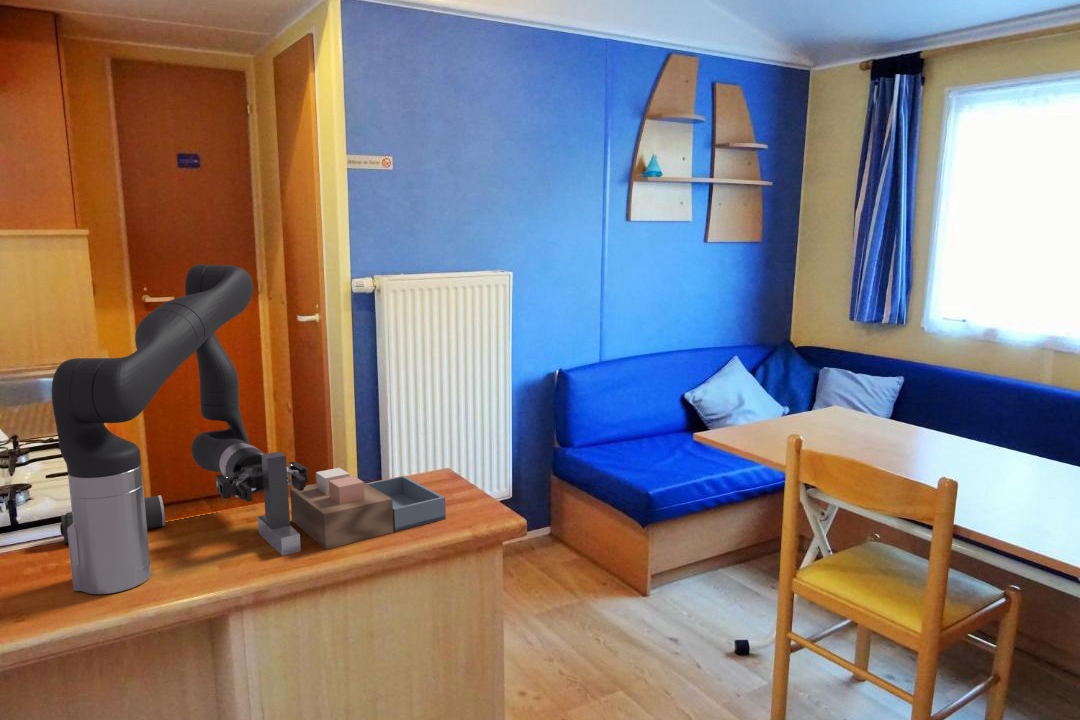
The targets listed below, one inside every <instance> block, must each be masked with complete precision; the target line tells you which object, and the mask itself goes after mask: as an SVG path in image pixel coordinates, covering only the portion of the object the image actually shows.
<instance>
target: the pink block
mask: <svg viewBox="0 0 1080 720" xmlns="http://www.w3.org/2000/svg"><path fill="white" fill-rule="evenodd" d="M359 479H360V478H358V477H356V476H355V477H354V475H350V477H345V478H340V479H335V480H330V481H329V492H330V498H331V499H333V500H334V501H336V502H337V503H339V504H344V503H349V502H353V501H358V500H362V499H365V497H364V482H365V481H363V480H361V479H360V480H359Z"/></svg>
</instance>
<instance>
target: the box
mask: <svg viewBox="0 0 1080 720" xmlns="http://www.w3.org/2000/svg"><path fill="white" fill-rule="evenodd" d="M367 484H368V485H370V486H372V487H373V488H375V489H377V490H378V491H380V492H382V493H383V494H385V495H387V496H389V497H390V498H392V503H393V531H394V532H399V531H403V530H404V531H405V530H407V529H412V528H415V527H419V526H422V525H427V524H430V523H434V522H438V521H439V522H440V521H442V520H445V519H447V517H446V516H447V515H446V497H445V496H443V495H441V494H439V493H438V492H436V491H433V490H431V488H428V487H426V486H424V485H422V484H421V483H418V482H417V481H415V480H413V479H411V478H409V477H407V476H405V475H401V476H395V477H391V478H386V479H381V480H377V481H373V482H372V481H371V482H367Z"/></svg>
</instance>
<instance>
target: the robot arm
mask: <svg viewBox="0 0 1080 720" xmlns="http://www.w3.org/2000/svg"><path fill="white" fill-rule="evenodd" d="M253 291H254V284H253V279H252V276H251V274H249V272H248V271H247V270H246V269H244V268H243V267H239V266H236V265H231V264H230V265H227V264H224V265H223V264H194V265H192V267H191V268H189V270H188V271H187V274H186V276H185V283H184V295H183V296H180V297H178V298H177V297H176V298H174V299H171V300H168V301H166V302H164V303H162V304H160V305H159V306H157V307H156V308H154V309H153V310H152V311H151V312H150V313H148V314H147V315H146V316H145V317H144V318H143V319H141V321H140V322H139V323H138V325H137V326H136V330H135V335H134V341H135V347H136V350H135V351H134V352H133V353H131V354H129V355H127V356H123V357H113V358H112V357H107V358H106V357H104V358H103V357H93V358H91V357H89V358H88V357H81V358H80V357H79V358H78V357H77V358H70V359H67V360H65V361H63V362H62V363H61V364H59V365H58V367H57V368H56V370H55V372H54V374H53V379H52V383H51V404H52V410H53V415H54V416H53V417H54V421H55V427H56V432H57V433H56V434H57V438H58V439H57V440H58V444H59V445H58V446H59V450H60V455H61V457H62V458H63V461H64V462H65V465H66V469H67V476H68V477H67V478H68V479H67V480H68V489H69V495H70V496H69V497H70V505H71V512H72V516H73V524H72V525H70V526H69V527H68V529H67V534H68V550H69V552H68V553H69V561H70V569H71V580H72V588H73V591H74V592H84V593H85V594H90V595H106V594H114V593H119V592H122V591H127V590H130V589H133V588H135V587H137V586H139V585H141V584H143V583H145V582H146V581H148V580H149V578H151V575H152V567H151V558H150V547H149V535H148V529H147V522H146V511H145V500H144V498H145V492H144V491H145V489H144V483H143V470H142V461H141V460H142V457H141V451H140V448H139V446H138V445H137V444H136V443H134V442H132V441H130V440H128V439H124V438H122V437H119V436H117V434H115V433H113V432H112V431H111V430H109V429H108V428H107V427H106V426H105V424H120V423H126V422H130V421H131V420H133V419H135V418H137V416H139V415H140V414H141V413H142V412H143V411H144V410H145V409H146V407H148V405H149V403H151V401H152V400H153V398H154V397H155V396H156V394H157V393H158V391H159V390H160V388H161V387H162V386H163V385H164V384H165V382H166V381H167V380H168V379H169V377H170V376H171V375H173V373H174V372H175V371H176V370H177V369H178V368H179V367H180V366H181V365H182V364H184V362H185V361H186V360H187V359H189V358H190V357H191V356H192V355H193V354H194V353H195V355H196V360H197V367H198V377H199V402H200V414H201V416H202V418H204V419H206V420H208V421H216V422H224V423H226V424H227V429H220V430H219V429H218V430H213V431H212V430H211V431H205V432H201V433H199V434H197V436H195V437H194V439H193V441H192V443H191V448H190V449H191V455H192V458H193V461H194V462H195V464H196V465H197V466H198V467H200V468H201V469H203V470H206V471H209V472H213V473H220V474H217V475H215V483H216V491H217V492H218V494H219V495H220V496H221V497H222V499H225V500H226V499H230V498H231V497H232V496H235V498H239V499H241V500H243V501H244V500H245V502H247V503H248V502H252V501H253V495H252V494H257V493H260V492H262V491H264V486H263V471H262V454H266V453H265V452H263V451H262V450H261V449H259V448H257V447H256V446H254V445H251V444H250V440H249V437H248V434H247V431H246V428H245V427H244V426H245V425H244V422H243V418H242V415H241V409H240V397H239V396H240V391H239V385H240V384H239V377H238V373H237V369H236V368H235V366H234V363H233V362H232V360H231V358H230V356H229V355H228V354H227V352H226V351H225V349H224V348H223V346H222V344H221V343H220V341H219V339H218V337H217V335H216V331H218V330H219V329H220V328H221V327H222V326H223V325H224V326H225V324H226V323H228V322H230V321H231V320H232V319H234V318H235V317H237V316H239V315H240V314H241V313H243V312H244V311H245V310H246V308H247V307H248V306H249V304H250V302H251V300H252V297H253ZM308 477H309V476H308V467H306V466H304V465H302V464H301V463H299V462H297V461H289V463H288V466H287V482H288V486H290V487H291V486H292V487H293V488H296V489H297V490H298V491H302V490H304V487H306V483H309V479H308ZM290 479H291V480H290Z"/></svg>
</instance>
